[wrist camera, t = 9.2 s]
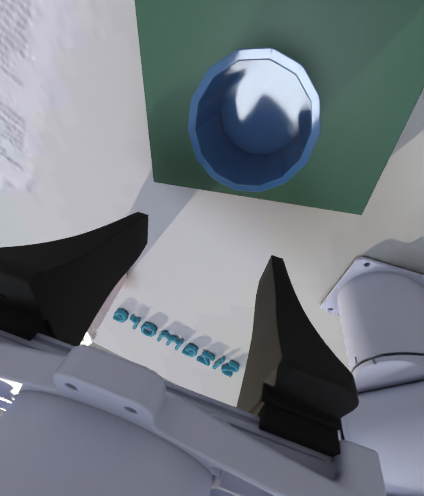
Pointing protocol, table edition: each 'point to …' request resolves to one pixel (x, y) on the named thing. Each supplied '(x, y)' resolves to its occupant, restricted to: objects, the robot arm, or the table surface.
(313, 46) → the flat green board
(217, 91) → the blue cup
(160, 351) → the table surface
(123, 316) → the nameplate
